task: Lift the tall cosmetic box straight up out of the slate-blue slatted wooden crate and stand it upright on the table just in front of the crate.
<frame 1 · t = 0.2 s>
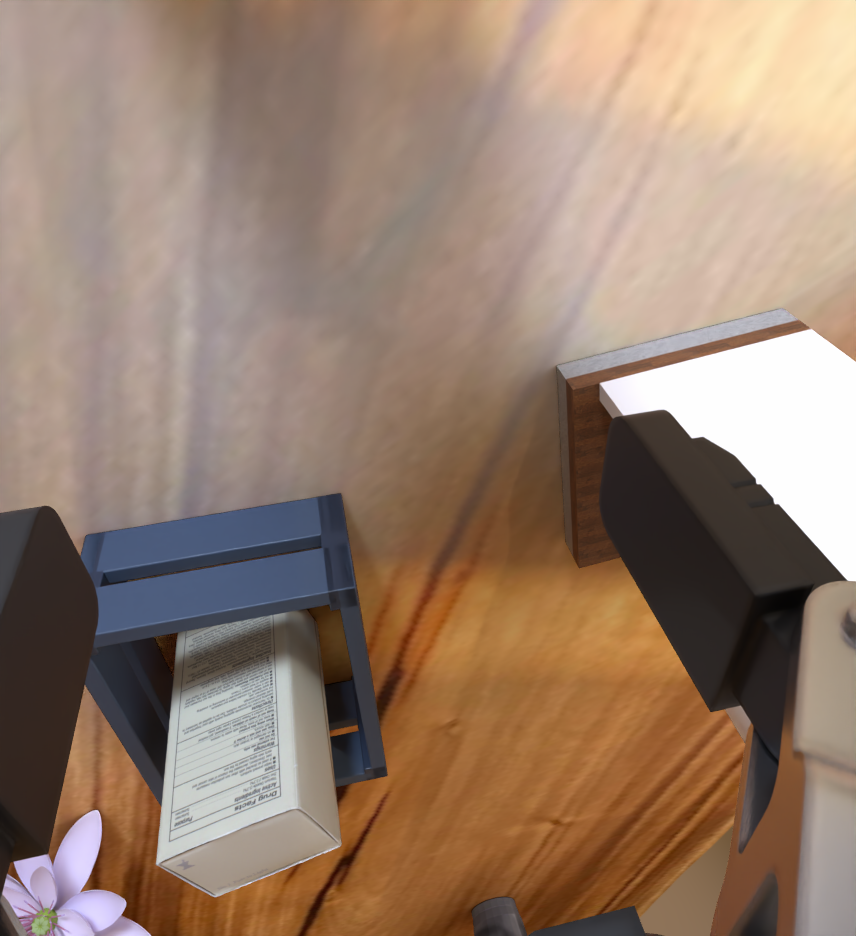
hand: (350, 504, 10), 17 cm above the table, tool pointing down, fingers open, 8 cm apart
water lily: (56, 842, 47), on the table
cosmetic box: (251, 617, 37), resting in crate
beverage cup: (492, 905, 70), on the table
two-tier display stand: (661, 433, 35), on the table
crate: (251, 620, 37), on the table
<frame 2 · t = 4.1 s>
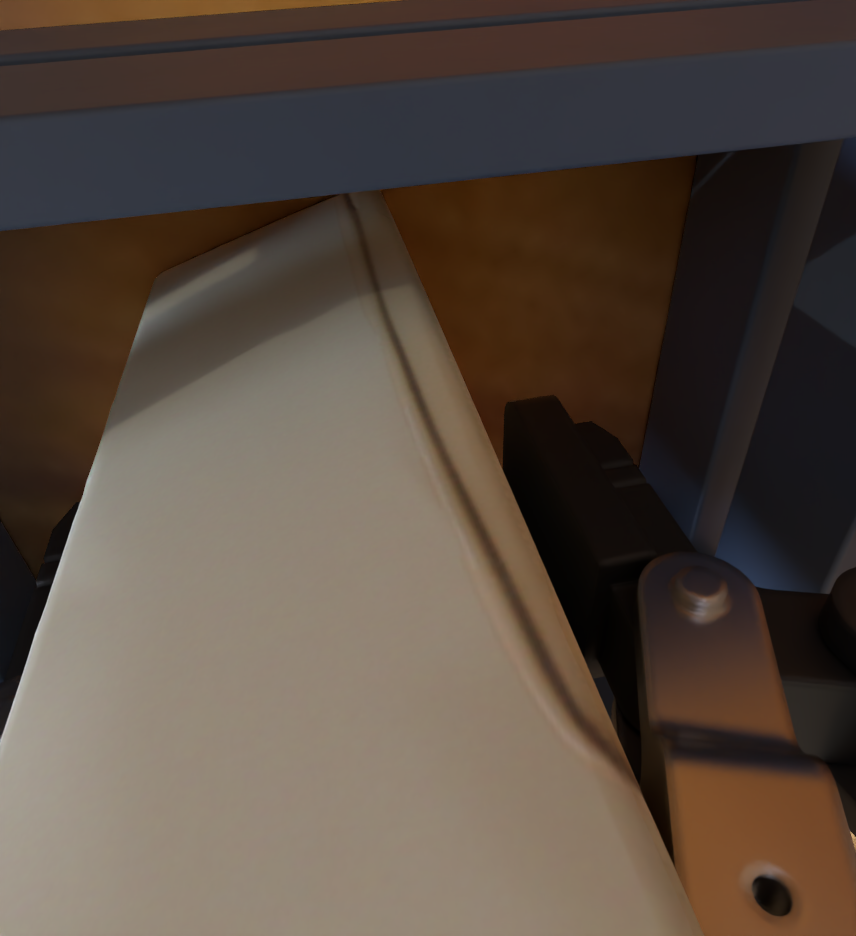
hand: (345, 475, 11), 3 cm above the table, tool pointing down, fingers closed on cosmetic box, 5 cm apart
cosmetic box: (326, 360, 14), resting in crate, touching gripper
crate: (327, 366, 13), on the table
when the fingers open (3 cm above the table, at t = 10.4 s): cosmetic box stays where it is, on the table.
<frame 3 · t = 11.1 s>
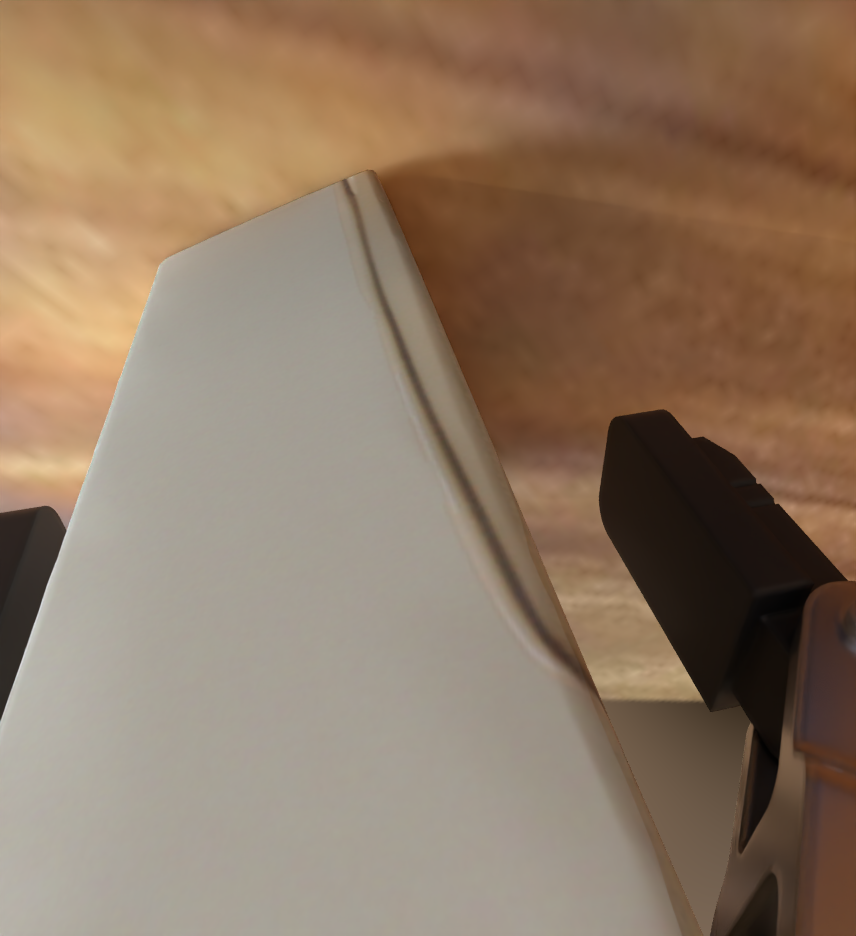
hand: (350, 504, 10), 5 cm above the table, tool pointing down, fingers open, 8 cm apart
cosmetic box: (327, 345, 14), on the table
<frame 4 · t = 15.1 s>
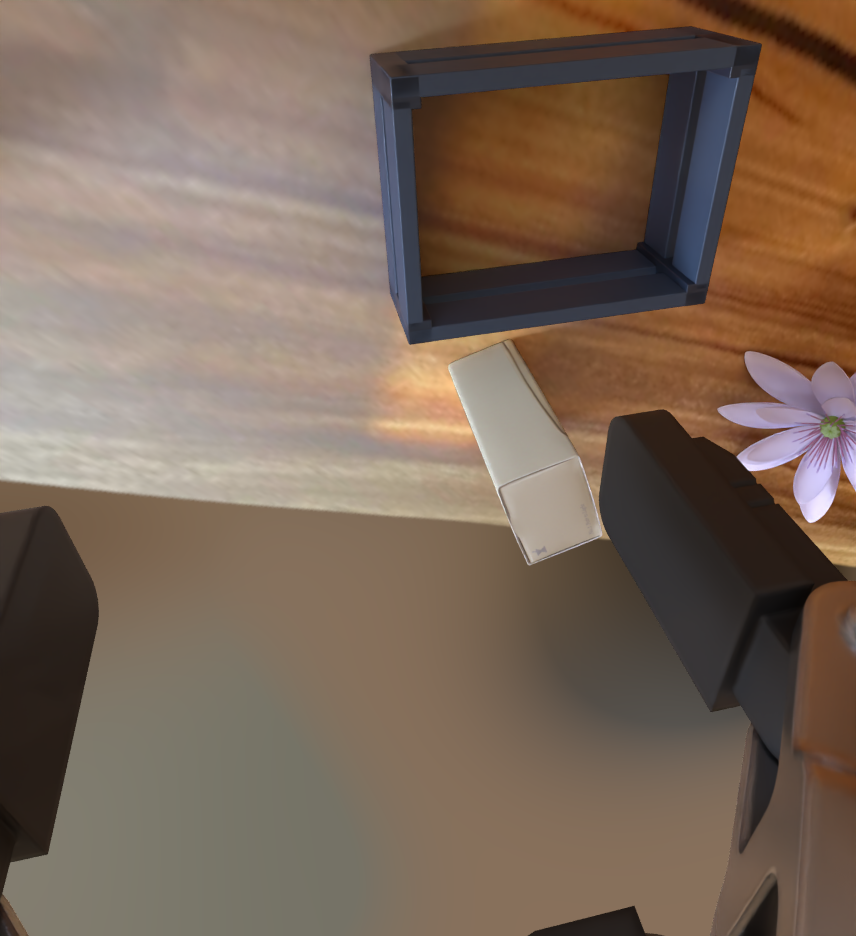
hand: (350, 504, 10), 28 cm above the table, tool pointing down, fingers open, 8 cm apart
water lily: (775, 392, 49), on the table
cosmetic box: (489, 386, 44), on the table
crate: (529, 170, 36), on the table
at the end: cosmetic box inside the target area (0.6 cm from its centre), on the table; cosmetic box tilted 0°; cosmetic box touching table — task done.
